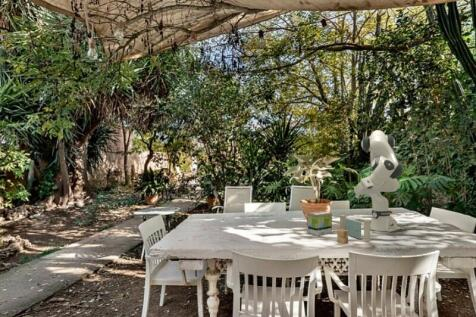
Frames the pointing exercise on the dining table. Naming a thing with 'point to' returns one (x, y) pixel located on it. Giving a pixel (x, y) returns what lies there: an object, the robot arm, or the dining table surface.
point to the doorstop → (342, 236)
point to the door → (353, 228)
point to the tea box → (319, 223)
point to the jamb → (367, 230)
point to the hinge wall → (342, 222)
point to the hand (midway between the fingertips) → (362, 196)
